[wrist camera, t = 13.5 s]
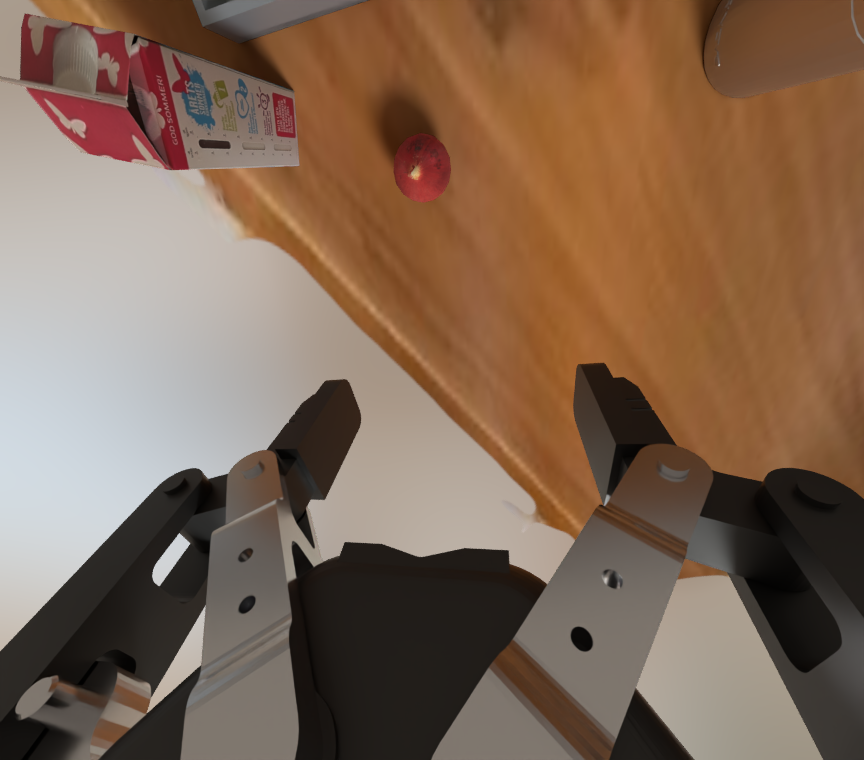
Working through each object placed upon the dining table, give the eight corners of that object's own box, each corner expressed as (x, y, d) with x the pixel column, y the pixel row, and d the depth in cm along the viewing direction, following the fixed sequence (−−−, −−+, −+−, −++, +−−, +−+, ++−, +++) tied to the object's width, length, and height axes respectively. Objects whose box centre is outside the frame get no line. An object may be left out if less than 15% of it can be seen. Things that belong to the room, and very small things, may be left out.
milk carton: (232, 79, 34) (-57, -13, 16) (294, 90, 34) (71, 11, 16) (244, 155, 38) (21, 150, 20) (299, 166, 37) (125, 171, 19)
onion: (405, 131, 34) (385, 124, 28) (458, 141, 34) (451, 137, 27) (400, 193, 38) (381, 200, 31) (448, 202, 37) (440, 212, 31)
